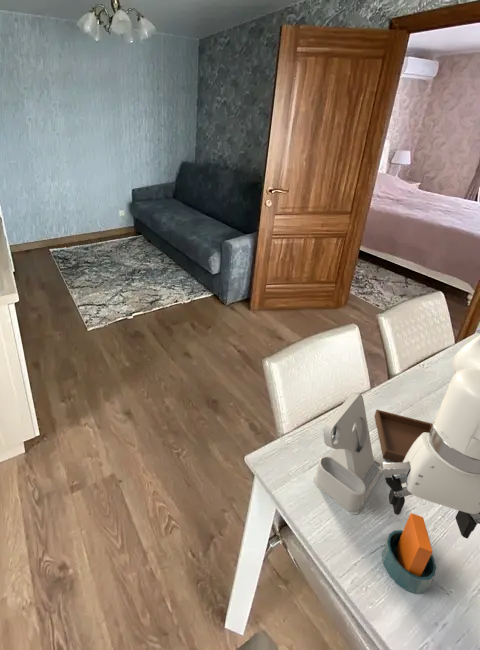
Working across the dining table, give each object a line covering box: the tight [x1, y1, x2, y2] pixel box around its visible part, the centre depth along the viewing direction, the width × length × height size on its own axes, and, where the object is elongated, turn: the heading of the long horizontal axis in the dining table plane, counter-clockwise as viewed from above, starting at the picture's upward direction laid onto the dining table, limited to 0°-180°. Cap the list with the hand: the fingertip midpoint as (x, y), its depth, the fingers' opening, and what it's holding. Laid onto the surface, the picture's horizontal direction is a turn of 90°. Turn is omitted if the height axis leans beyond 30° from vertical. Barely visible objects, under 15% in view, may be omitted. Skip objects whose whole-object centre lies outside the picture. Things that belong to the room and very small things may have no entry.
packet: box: [396, 512, 434, 577], centre depth 62 cm, size 2×6×11 cm, turn 160°
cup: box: [381, 529, 437, 595], centre depth 63 cm, size 7×7×5 cm
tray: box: [374, 409, 433, 463], centre depth 88 cm, size 13×13×2 cm
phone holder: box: [313, 392, 383, 516], centre depth 77 cm, size 17×10×18 cm, turn 132°
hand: (426, 516), depth 58 cm, fingers open, 9 cm apart
